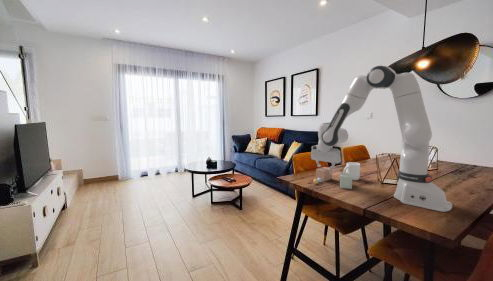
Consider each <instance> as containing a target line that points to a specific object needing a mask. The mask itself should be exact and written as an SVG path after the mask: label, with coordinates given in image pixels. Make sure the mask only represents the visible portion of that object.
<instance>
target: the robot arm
mask: <svg viewBox="0 0 493 281" xmlns="http://www.w3.org/2000/svg"><path fill="white" fill-rule="evenodd" d="M374 89H380V90H381V89H382V90H383V89H384V90H385V89H389V90H390V91H391V94H392V99H393V101H394V106H395V110H396V115H397V119H398V124H399V130H400V132H401V133H400V134H401V147H400V158H399V169H398V173H397V185H396V190H395V192H394V194H393V197H394V198H395V199H397V200H398V201H400V203H402V204H405V205H409V206H414V207H418V208H423V209H428V210H433V211H437V212H441V213H442V212H443V213H445V212H449V211H451V210H452V209H453V203H451V202H450V201H447V196H446V192H445V191H444V190H443V189H442V188H440V187H438V186H437V185H436V184H435V183H433V175H430V174H429V173H428V167H429V158H430V156H429V152H430V141H431V139H432V137H433V132H432V128H431V125H430V121H429V117H428V114H427V110H426V106H425V102H424V98H423V96H422V90H421V88H420V85H419V82H418V80H417V77H416V76H415V74H413V73H412V72H402V73H397V72H396V70H395V69H393V68H392V67H389V66H384V65H376V66H374V67H372V68H370V69H369V70H368V71H367V74H366V75H357V76H355V77H354V79H353V80H352V81H351V84H350V85H349V87H348V88H347V91H346V93H345V96H344V98H343V100H342V102H341V103H340V105H339V106H338V108H337V110H336V111H335V113H334V115H333V117H332V119H331V121H330V122H324V123H320V124H319V126H318V131H317V136H318V142H317V144H316V145H312V146H311V152H310V159H311V160H312V161H313V160H314V161H315V162H316V165H317V166H316V167H317V168H322V165H321V164H320V162H325V163H331V165H330V166H329V168H330V169H332V170H334V167H335V165H336V164H340V163H341V160H342V157H341V150H340V149H338V148H335V147H334V148H333V146H335V145H339V144H343V143H345V142H347V140H348V139H349V132H348V131H347V129H345V128H342V126H343V124H344V122H345V120H346V119H347V118H348V117H349V116H350V115H352V114H354V113H356V112H357V111H360V110H361V108H362V107H363V106H364V105H365V103H366V101H367V99H368V97H369V95H370V94H371V91H372V90H374Z"/></svg>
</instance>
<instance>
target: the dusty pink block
mask: <svg viewBox="0 0 493 281" xmlns="http://www.w3.org/2000/svg"><path fill="white" fill-rule="evenodd" d="M318 178H321V179H322V182H324V183H325V182H327V181H330V180H333V169H330V167H325V166H321V167H318V168H316V169H315V179H318Z"/></svg>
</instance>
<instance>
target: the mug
mask: <svg viewBox="0 0 493 281" xmlns="http://www.w3.org/2000/svg"><path fill="white" fill-rule="evenodd" d="M360 172H361V163H359V162H355V161H354V162H353V161H352V162H351V161H349V162H346V165H345V167H344V168H343V173H351V175H352V181H358V180H359V179H360V174H361V173H360Z"/></svg>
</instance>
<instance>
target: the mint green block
mask: <svg viewBox="0 0 493 281" xmlns="http://www.w3.org/2000/svg"><path fill="white" fill-rule="evenodd" d="M339 188H340V189H348V190H349V189H350V190H352V188H353V180H352V175H351V173H343V172H339Z"/></svg>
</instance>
